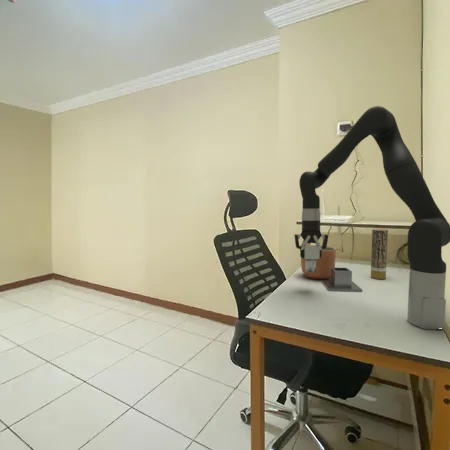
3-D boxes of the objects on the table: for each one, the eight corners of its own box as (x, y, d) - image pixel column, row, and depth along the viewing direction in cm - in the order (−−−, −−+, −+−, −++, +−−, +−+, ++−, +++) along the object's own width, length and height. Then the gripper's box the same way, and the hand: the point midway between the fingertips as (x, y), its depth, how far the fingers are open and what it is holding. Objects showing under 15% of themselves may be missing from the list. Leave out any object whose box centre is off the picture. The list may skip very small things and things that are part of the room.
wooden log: (387, 280, 140) (390, 229, 138) (372, 279, 141) (374, 229, 139) (383, 276, 146) (385, 228, 144) (368, 275, 148) (370, 228, 146)
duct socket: (362, 291, 122) (362, 273, 121) (328, 290, 123) (328, 272, 123) (351, 282, 135) (352, 266, 135) (321, 281, 137) (321, 265, 136)
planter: (305, 271, 158) (306, 244, 156) (338, 275, 149) (339, 246, 147) (295, 278, 143) (296, 248, 142) (331, 283, 134) (331, 251, 133)
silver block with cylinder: (319, 273, 119) (319, 246, 118) (304, 272, 119) (304, 246, 119) (314, 268, 128) (315, 244, 127) (301, 268, 129) (301, 244, 128)
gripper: (294, 219, 118) (294, 260, 119) (330, 219, 116) (330, 260, 117) (292, 219, 125) (292, 256, 126) (326, 218, 124) (326, 257, 125)
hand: (310, 258), depth 122 cm, fingers closed on silver block with cylinder, 6 cm apart
